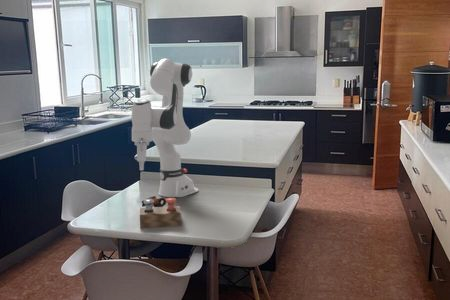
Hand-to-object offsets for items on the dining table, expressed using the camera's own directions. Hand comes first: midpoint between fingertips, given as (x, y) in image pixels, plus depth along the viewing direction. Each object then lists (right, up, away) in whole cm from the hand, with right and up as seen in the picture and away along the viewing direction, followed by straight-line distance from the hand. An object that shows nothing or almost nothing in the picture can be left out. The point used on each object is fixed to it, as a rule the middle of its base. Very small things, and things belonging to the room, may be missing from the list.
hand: (141, 167), depth 207 cm
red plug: (+13, -21, +4) cm, 25 cm away
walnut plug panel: (+8, -25, +4) cm, 27 cm away
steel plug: (+3, -21, +3) cm, 22 cm away
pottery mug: (+2, -22, +22) cm, 32 cm away
